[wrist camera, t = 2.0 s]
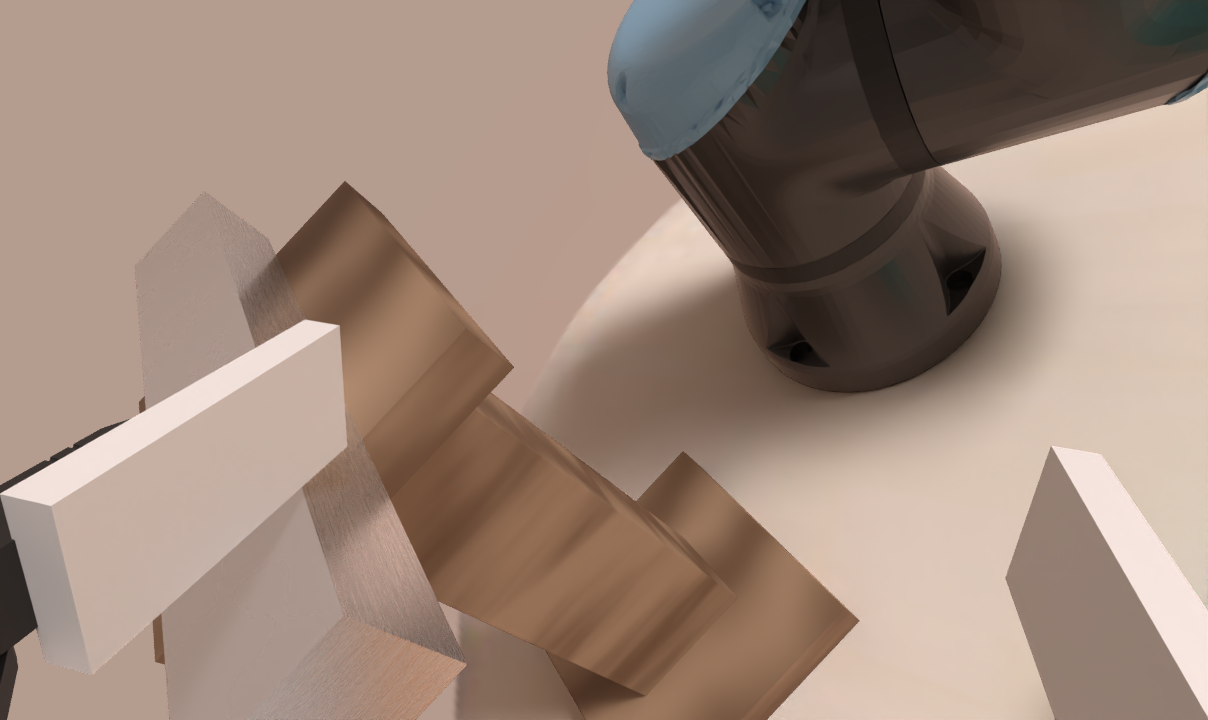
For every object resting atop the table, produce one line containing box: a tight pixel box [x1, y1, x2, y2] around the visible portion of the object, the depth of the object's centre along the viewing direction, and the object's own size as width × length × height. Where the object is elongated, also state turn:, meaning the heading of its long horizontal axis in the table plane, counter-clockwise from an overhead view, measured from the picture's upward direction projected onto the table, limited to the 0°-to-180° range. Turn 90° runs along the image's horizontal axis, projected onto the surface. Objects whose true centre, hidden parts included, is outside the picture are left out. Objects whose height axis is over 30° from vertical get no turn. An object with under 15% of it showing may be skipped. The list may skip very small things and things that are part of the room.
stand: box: [139, 182, 859, 720], centre depth 35 cm, size 14×14×28 cm
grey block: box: [135, 191, 467, 720], centre depth 23 cm, size 24×4×3 cm, turn 36°
